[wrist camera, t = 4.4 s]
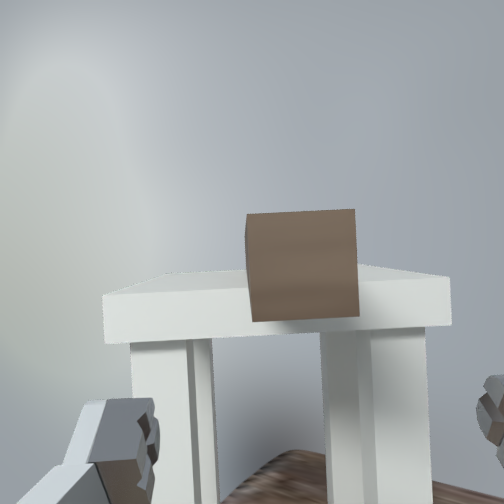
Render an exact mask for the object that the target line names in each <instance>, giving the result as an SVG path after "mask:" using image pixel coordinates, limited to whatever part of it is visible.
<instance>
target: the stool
mask: <svg viewBox="0 0 504 504" xmlns="http://www.w3.org/2000/svg"><path fill="white" fill-rule="evenodd" d="M357 266H358V287H359V308H360V317H342V318H324V319H305V320H287V321H268V322H252V315H251V307H250V298H249V289H248V281H247V272H246V269H244V270H224V271H205V272H185V273H167V274H164V275H161V276H158V277H155V278H152V279H149V280H146V281H143V282H140V283H137V284H134V285H131V286H128V287H125V288H122V289H119V290H116V291H114V292H110V293H107V294H105V295H102V301H103V320H104V338H105V344H110V343H130V351H131V352H130V354H131V372H132V391H133V398H153V401H154V405H155V411H154V417H155V418H157V419H158V422H159V427H160V450H159V457H158V461H157V462H156V463H155V464H154V465H153V467H152V468H153V472H154V475H155V483H154V489H153V495H152V502H151V504H220V491H219V470H218V452H217V431H216V412H215V393H214V373H213V354H212V338H221V337H240V336H259V335H276V334H294V333H314V332H320V350H321V370H322V390H323V409H324V411H323V412H324V432H325V452H326V474H327V495H328V504H433V498H432V476H431V455H430V432H429V411H428V391H427V390H428V388H427V367H426V344H425V326H441V325H452V320H451V319H452V318H451V298H450V297H451V296H450V277H445V276H438V275H431V274H424V273H417V272H411V271H404V270H397V269H389V268H383V267H376V266H369V265H362V264H357Z"/></svg>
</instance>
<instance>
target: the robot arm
mask: <svg viewBox="0 0 504 504" xmlns="http://www.w3.org/2000/svg"><path fill="white" fill-rule="evenodd" d="M483 387H484V388H485V390H486V391H487V393H486V394H484V395H483V396H482V397H481V398H479V400H478V404H477V407H476V412H477V420H478V423H479V426H480V429H481V430H482V432H483V434H484V436H485V438H487V440H489V441H490V442H492V443H493V444H495V445H496V446H497V454H496V456H497V458H498V460H499V461H500V463H501V464H502V466H503V468H504V375H492V376H489V377H488V378H487V379H486V381H485V383H484V386H483ZM154 411H155V405H154V401H153V398H124V399H102V400H88V401H87V402H86V404H85V405H84V406H83V408H82V411H81V414H80V417H79V419H78V423H77V425H76V428H75V430H74V433H73V436H72V439H71V441H70V444H69V447H68V450H67V452H66V455H65V458H64V461H63V464H62V465H57V466H55V467H53V468H52V469H51V470H50V471H49V472H48V473H47V474H46V475H45V476H44V477H43V478H42V479H41V480H40V481H39V482H38V483H37V484H36V485H35V486H34V487H33V488H32V489H31V490H30V491H29V492H28V493H27V494H26V495H24V496H23V497H22V498H21V499H20V500H19V501H18V502H17V503H16V504H151V502H152V495H153V489H154V483H155V475H154V472H153V468H152V467H153V465H154V464H155V463H156V462H157V461H158V457H159V450H160V427H159V422H158V419H157V418H155V417H154Z"/></svg>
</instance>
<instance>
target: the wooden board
mask: <svg viewBox="0 0 504 504" xmlns="http://www.w3.org/2000/svg"><path fill="white" fill-rule="evenodd" d="M245 251H246V252H245V253H246V272H247V281H248V289H249V298H250V307H251V315H252V322H268V321H287V320H305V319H324V318H342V317H360V308H359V287H358V266H357V247H356V224H355V209H342V210H321V211H301V212H280V213H262V214H261V213H260V214H247V218H246V228H245Z"/></svg>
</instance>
